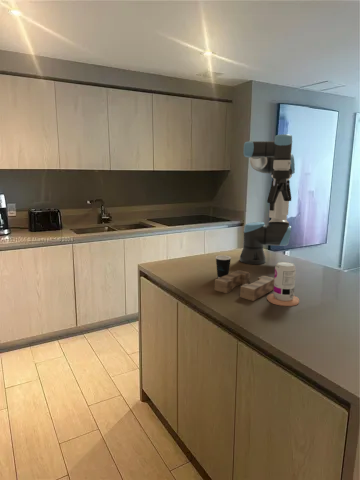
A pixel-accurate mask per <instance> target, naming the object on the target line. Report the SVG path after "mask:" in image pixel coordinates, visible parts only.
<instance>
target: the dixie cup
mask: <svg viewBox="0 0 360 480" xmlns="http://www.w3.org/2000/svg"><path fill="white" fill-rule="evenodd" d="M214 258H215V263H216V275H217V279H218V278H220V277H223V276H225V275H227V274H230V273H229V272H230V268H231V259H232V256H229V255H224V254H222V255H220V254H219V255H216V256H215V257H214Z"/></svg>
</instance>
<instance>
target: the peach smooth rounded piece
mask: <svg viewBox="0 0 360 480" xmlns="http://www.w3.org/2000/svg"><path fill="white" fill-rule="evenodd" d="M266 298H267V301H268V302H269V303H271V304H274V305H276V306H281V307H294V306H297V305H299V304H300V299H299V297H297V296H295V295H294V298H293V299H292V300H291V301H280V300H277V299H275V297H274V296H273V293H270V294H268V295H267V297H266Z"/></svg>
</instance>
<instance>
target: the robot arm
mask: <svg viewBox="0 0 360 480" xmlns="http://www.w3.org/2000/svg"><path fill="white" fill-rule="evenodd" d="M292 149H293V135H291V134H284V133H283V134H277V135H275V137H274V140H271V141H269V140H265V141H263V140H262V141H256V140H255V141H245V142H244V143H243V156H244V157H245V158H250V163H249V164H250V166H251V168H252V169H254V171H256V172H259V173H262V174H269V175H270V176H271V178H272V179H273V180H271V184H270V185H271V186H270V190H269V192H268V196H267V201H266V202H267V203H268V204H269V211H268V218H270V220H269V221H268V224H265V222H264V221H263V222H262V221H256V222H249V223H246V224H245V225H244V227H243V241H242V242H243V243H242V244H243V246H242V250H241V253H240V255H239V261H240V263H243V264H246V265H247V264H248V265H262V264H266V259H267V258H266V255H265V251H264V245H265V246H279V247H283V246H284V247H286V246H288V245H289V243H290V238H291V233H292V226H291V225H290V222H289V221H288V220H287V216H288V215H289V209H290V208H289V207H290V204H289V203H290V202H292V194H291V193H292V191H291V186H290V183H291V181H290V179H291V178H292V176H293V175H294V174H295V157H294V155H293V154H292Z"/></svg>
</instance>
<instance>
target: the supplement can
mask: <svg viewBox="0 0 360 480" xmlns="http://www.w3.org/2000/svg"><path fill="white" fill-rule="evenodd" d="M296 271H297V269H296V265H295V263H293V262H288V261H278V262H277V263H276V264H275V266H274V277H273V278H274V290H273V293H272V294H273V296H274V297H275V299H277V300H280V301H291V300H292V299H293V298H294V296H295V285H296V283H295V282H296Z"/></svg>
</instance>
